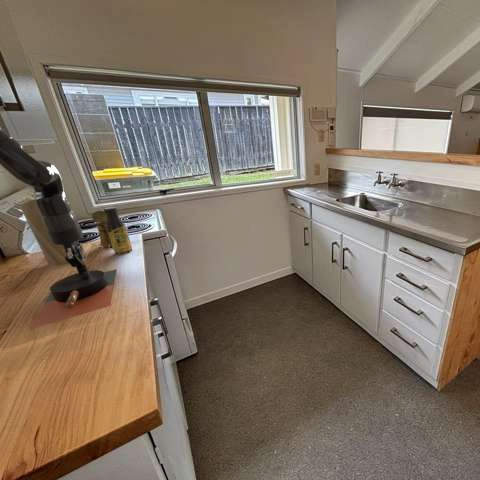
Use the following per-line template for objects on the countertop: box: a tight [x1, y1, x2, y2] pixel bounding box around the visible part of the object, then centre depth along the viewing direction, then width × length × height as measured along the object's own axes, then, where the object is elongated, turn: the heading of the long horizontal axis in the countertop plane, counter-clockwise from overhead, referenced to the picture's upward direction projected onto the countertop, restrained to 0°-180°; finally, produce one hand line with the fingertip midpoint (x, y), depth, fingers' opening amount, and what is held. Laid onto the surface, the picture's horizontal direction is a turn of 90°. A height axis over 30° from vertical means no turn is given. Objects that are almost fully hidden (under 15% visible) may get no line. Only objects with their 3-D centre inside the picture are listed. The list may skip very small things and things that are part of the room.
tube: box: [18, 199, 69, 267], centre depth 100 cm, size 10×10×25 cm
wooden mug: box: [91, 210, 112, 248], centre depth 115 cm, size 9×14×18 cm, turn 35°
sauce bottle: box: [103, 206, 133, 256], centre depth 106 cm, size 7×6×20 cm
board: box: [28, 268, 118, 330], centre depth 80 cm, size 17×27×1 cm, turn 33°
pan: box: [49, 269, 108, 309], centre depth 78 cm, size 13×21×4 cm, turn 33°
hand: (84, 274), depth 87 cm, fingers closed
